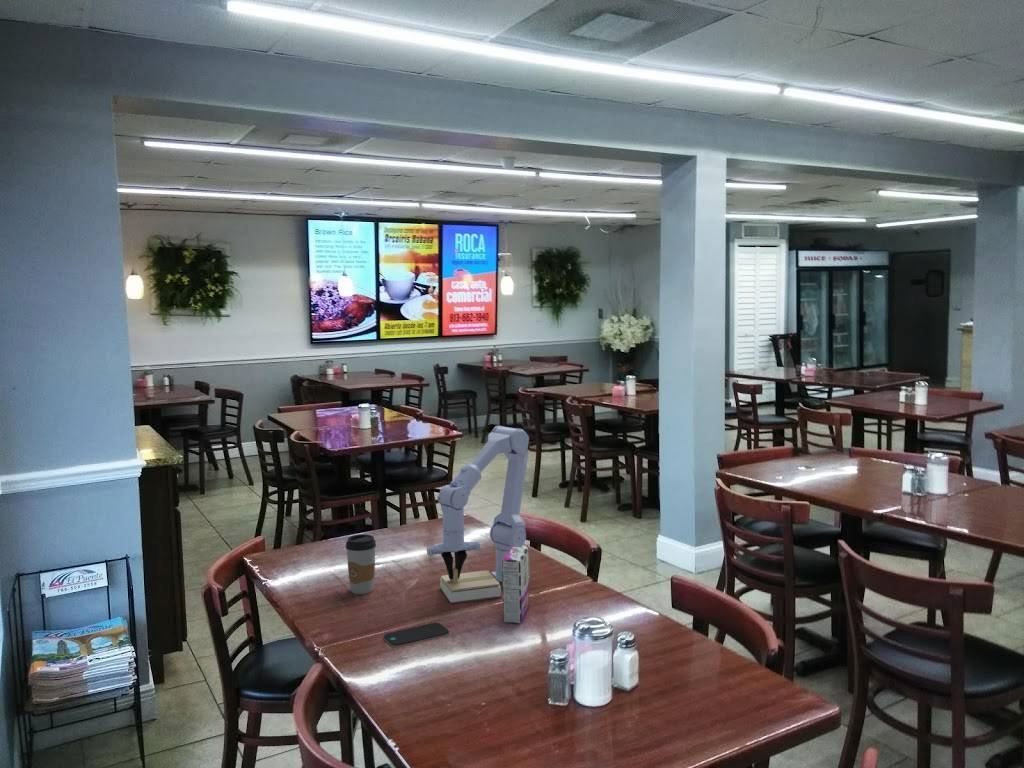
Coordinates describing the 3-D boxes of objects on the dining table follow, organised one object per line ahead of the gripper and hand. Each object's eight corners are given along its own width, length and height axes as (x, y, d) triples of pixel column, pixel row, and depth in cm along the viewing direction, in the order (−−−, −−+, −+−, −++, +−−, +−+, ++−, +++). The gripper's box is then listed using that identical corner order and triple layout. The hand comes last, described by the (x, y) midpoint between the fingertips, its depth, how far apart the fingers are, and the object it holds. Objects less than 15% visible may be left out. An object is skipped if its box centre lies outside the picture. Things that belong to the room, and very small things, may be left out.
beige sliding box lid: (487, 571, 225) (487, 557, 225) (499, 585, 214) (499, 570, 214) (441, 577, 221) (440, 562, 220) (451, 591, 210) (450, 575, 209)
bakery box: (488, 582, 226) (488, 572, 225) (500, 597, 214) (500, 586, 214) (440, 588, 221) (440, 578, 221) (450, 603, 210) (450, 592, 210)
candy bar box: (511, 606, 208) (510, 545, 206) (529, 607, 207) (529, 546, 205) (502, 623, 197) (501, 559, 195) (521, 624, 196) (521, 560, 194)
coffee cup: (340, 592, 219) (339, 540, 217) (359, 583, 226) (358, 532, 224) (364, 597, 215) (363, 544, 213) (383, 588, 222) (382, 536, 221)
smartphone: (381, 634, 190) (438, 621, 197) (381, 637, 190) (438, 624, 197) (393, 645, 183) (451, 632, 191) (393, 649, 183) (451, 635, 191)
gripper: (475, 523, 221) (475, 570, 222) (424, 528, 216) (425, 576, 217) (482, 529, 214) (482, 578, 215) (429, 535, 209) (430, 584, 211)
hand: (454, 578), depth 216 cm, fingers closed on beige sliding box lid
